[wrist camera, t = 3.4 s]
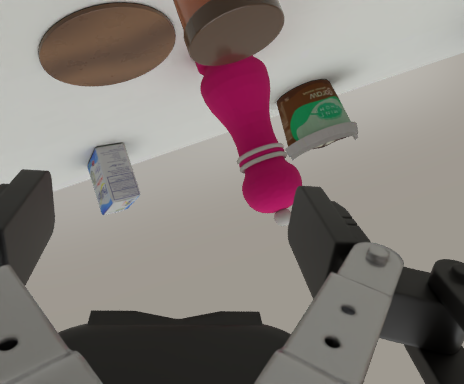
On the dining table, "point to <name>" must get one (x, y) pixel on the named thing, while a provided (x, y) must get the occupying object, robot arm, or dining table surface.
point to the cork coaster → (106, 44)
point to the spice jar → (228, 28)
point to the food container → (313, 117)
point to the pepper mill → (252, 133)
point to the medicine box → (113, 178)
